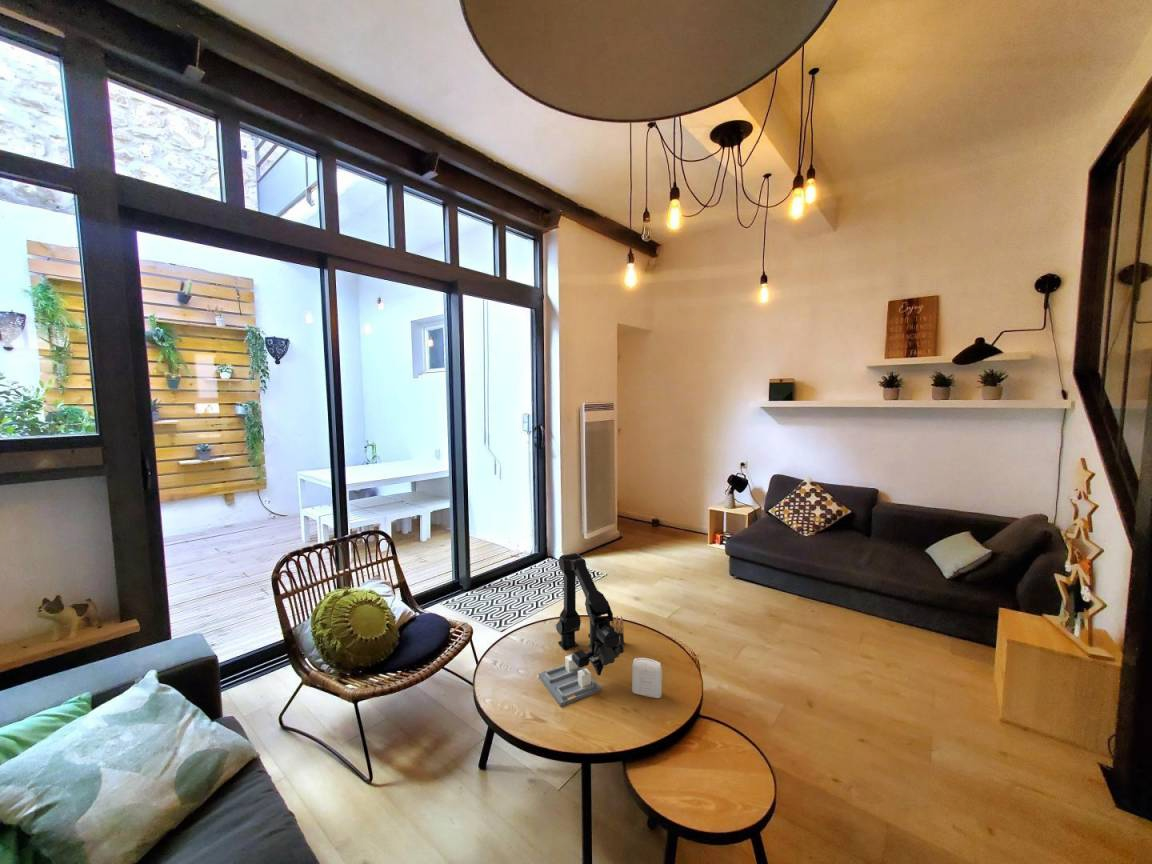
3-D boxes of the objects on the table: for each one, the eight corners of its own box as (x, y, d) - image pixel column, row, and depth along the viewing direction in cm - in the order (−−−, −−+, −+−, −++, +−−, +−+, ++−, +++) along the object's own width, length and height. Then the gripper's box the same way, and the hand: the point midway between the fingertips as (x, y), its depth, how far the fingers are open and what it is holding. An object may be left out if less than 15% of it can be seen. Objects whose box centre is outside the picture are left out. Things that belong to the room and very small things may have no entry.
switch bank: (538, 676, 164) (538, 671, 164) (576, 663, 171) (576, 658, 171) (560, 706, 148) (560, 700, 148) (601, 690, 155) (601, 684, 155)
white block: (577, 683, 157) (577, 669, 157) (586, 680, 159) (586, 666, 158) (582, 689, 155) (582, 674, 154) (591, 685, 156) (590, 671, 156)
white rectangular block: (565, 668, 166) (565, 655, 166) (573, 665, 168) (573, 652, 167) (569, 673, 163) (568, 659, 163) (577, 670, 165) (577, 656, 164)
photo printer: (662, 691, 154) (662, 658, 153) (661, 700, 150) (661, 665, 149) (633, 686, 157) (632, 653, 156) (631, 694, 153) (630, 660, 152)
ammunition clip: (598, 644, 184) (597, 616, 183) (598, 641, 186) (598, 614, 185) (624, 645, 183) (623, 617, 182) (624, 642, 185) (623, 615, 184)
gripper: (586, 652, 147) (587, 697, 148) (632, 636, 155) (633, 679, 157) (570, 636, 156) (571, 678, 158) (615, 622, 165) (615, 662, 167)
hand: (598, 674), depth 159 cm, fingers closed
